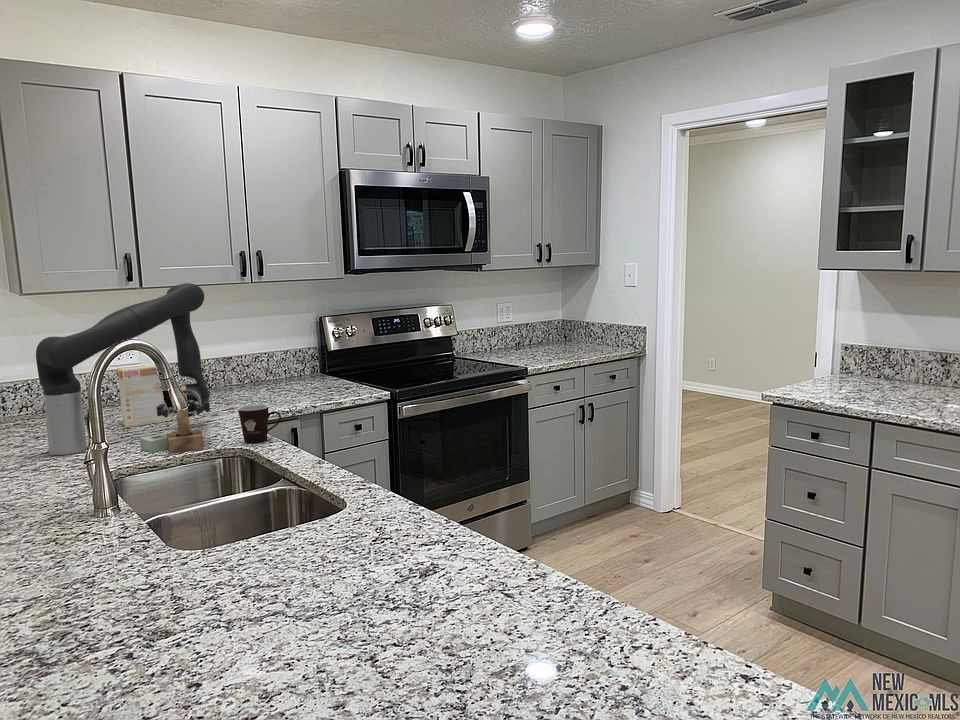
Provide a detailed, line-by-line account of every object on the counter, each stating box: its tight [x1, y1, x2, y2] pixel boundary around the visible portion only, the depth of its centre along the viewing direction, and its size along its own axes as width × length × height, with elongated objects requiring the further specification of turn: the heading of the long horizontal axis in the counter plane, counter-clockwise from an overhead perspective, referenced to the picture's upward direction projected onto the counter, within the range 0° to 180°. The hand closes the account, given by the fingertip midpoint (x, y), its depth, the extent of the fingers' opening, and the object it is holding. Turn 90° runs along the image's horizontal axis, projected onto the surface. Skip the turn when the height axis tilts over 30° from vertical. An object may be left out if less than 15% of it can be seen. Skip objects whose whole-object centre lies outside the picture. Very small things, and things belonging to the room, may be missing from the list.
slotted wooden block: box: [165, 429, 205, 455], centre depth 205 cm, size 9×9×4 cm
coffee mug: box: [237, 404, 282, 445], centre depth 210 cm, size 12×9×10 cm
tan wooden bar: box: [176, 386, 191, 437], centre depth 204 cm, size 3×3×18 cm
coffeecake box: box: [117, 364, 174, 428], centre depth 243 cm, size 15×7×20 cm, turn 123°
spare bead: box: [139, 432, 168, 453], centre depth 207 cm, size 7×7×3 cm
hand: (181, 412), depth 202 cm, fingers open, 8 cm apart
